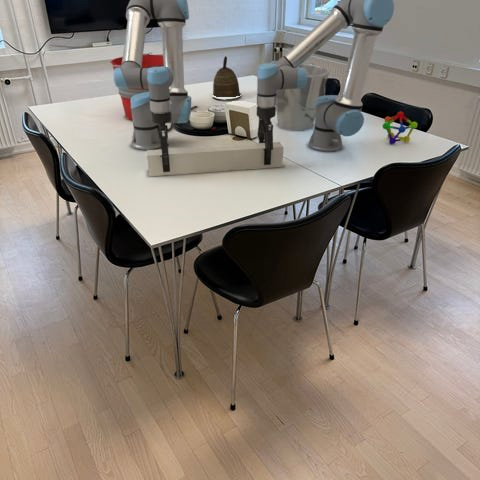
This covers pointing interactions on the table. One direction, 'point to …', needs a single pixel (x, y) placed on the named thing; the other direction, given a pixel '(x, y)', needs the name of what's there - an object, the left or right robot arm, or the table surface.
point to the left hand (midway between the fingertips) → (166, 166)
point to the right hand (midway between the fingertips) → (264, 160)
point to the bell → (225, 82)
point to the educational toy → (398, 128)
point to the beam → (214, 159)
